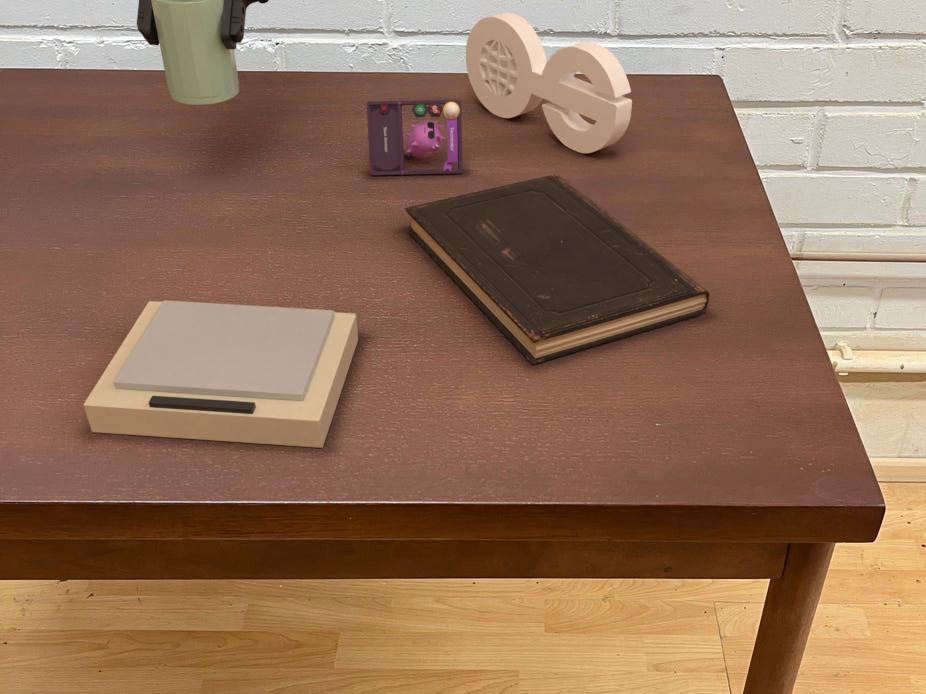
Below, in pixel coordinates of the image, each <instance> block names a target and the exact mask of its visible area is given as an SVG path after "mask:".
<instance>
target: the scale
mask: <svg viewBox="0 0 926 694" xmlns="http://www.w3.org/2000/svg"><path fill="white" fill-rule="evenodd" d="M357 319H358V318H357V313H356V312H355V313H353V312H352V313H351V312H337V311H336V312H335V310H332V309H316V308H301V307H299V308H298V307H284V306H283V307H282V306H267V305H266V306H264V305H250V304H233V303H232V304H231V303H215V302H197V301H184V300H183V301H181V300H162V301H153V300H150V301H148V302H147V304H146V305H145V306H144V309H143V310H142V311H141V313H140V315H139V316H138V318H137V319H136V321H135V323H134V324H133V326H132V327H131V329H130V330H129V332H128V333H127V334H126V337H125V338H124V340H123V342H122V343H121V344H120V346H119V348H118V349H117V351H116V352H115V354H114V356H113V357H112V359H111V361H110V362H109V363H108V365H107V366H106V368H105V370H104V371H103V373H102V374H101V376H100V377H99V378H98V381H97V382H96V384H95V385H94V387H93V389H92V390H91V391H90V393H89V394H88V396H87V398H86V400H85V401H84V403H83V409H84V412H85V415H86V418H87V421H88V425H89V427H90V431H91V433H101V434H112V435H113V434H115V435H128V436H129V435H130V436H140V437H141V436H142V437H143V436H144V437H158V438H172V439H184V440H185V439H188V440H200V441H201V440H202V441H214V442H215V441H216V442H230V443H243V444H258V445H259V444H260V445H271V446H272V445H273V446H287V447H288V446H290V447H303V448H314V449H315V448H317V449H318V448H319V449H322V448H324V445H325V442H326V440H327V436H328V433H329V430H330V427H331V424H332V421H333V418H334V415H335V413H336V409H337V406H338V402H339V400H340V397H341V394H342V390H343V388H344V385H345V382H346V378H347V376H348V373H349V369H350V367H351V363H352V361H353V357H354V354H355V351H356V348H357V345H358V342H359V332H358V320H357Z"/></svg>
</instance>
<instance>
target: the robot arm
mask: <svg viewBox="0 0 926 694" xmlns="http://www.w3.org/2000/svg"><path fill="white" fill-rule="evenodd" d="M269 1H270V0H224V6H223V15H222V26H221V40H222V42H223V44H224V45H225V47H226V48H227V49H234V50H236V49H237V44H240V43H242V41H243V40H244V37H245V25H246V15H247V9H248V8H249V6H250V5H252V4H255V3H258V4H267V3H268V2H269ZM137 5H138V6H137V7H138V8H137V15H136V27H137V30H138V31H139V33H140V34H141V35H142V37H143V38H144V40H145V42H147V44H148V45H149V46H160V44H159V39H158V33H157V28H156V23H155V18H154V13H153V7H152V2H151V0H138V4H137Z"/></svg>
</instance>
